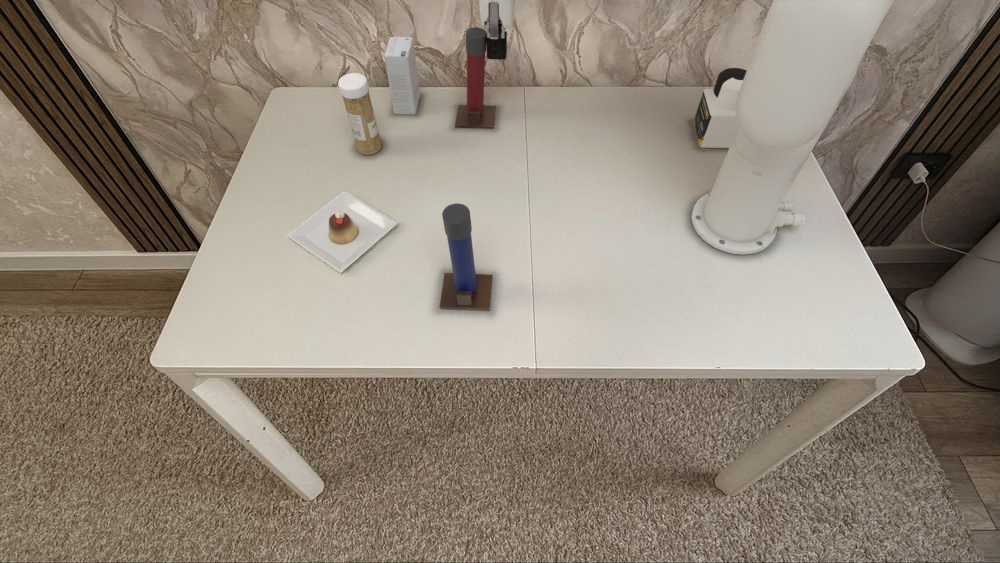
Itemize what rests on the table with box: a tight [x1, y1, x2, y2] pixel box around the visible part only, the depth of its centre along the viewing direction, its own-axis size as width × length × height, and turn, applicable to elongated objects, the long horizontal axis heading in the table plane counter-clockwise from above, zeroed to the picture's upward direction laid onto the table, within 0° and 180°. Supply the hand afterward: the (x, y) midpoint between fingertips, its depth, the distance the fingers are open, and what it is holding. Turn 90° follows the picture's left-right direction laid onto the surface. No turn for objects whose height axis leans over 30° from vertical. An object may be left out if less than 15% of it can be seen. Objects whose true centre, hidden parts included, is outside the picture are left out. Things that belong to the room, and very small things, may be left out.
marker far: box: [465, 26, 487, 115], centre depth 95 cm, size 3×3×15 cm
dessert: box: [286, 190, 398, 274], centre depth 84 cm, size 12×12×5 cm
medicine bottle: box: [692, 67, 747, 149], centre depth 94 cm, size 7×7×12 cm
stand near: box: [439, 272, 494, 312], centre depth 78 cm, size 7×6×3 cm
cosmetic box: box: [384, 36, 421, 115], centre depth 100 cm, size 6×4×12 cm
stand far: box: [454, 104, 497, 130], centre depth 101 cm, size 7×6×3 cm
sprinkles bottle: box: [337, 72, 383, 156], centre depth 92 cm, size 5×5×14 cm
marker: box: [441, 202, 477, 293], centre depth 72 cm, size 3×3×15 cm
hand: (496, 56), depth 92 cm, fingers closed
